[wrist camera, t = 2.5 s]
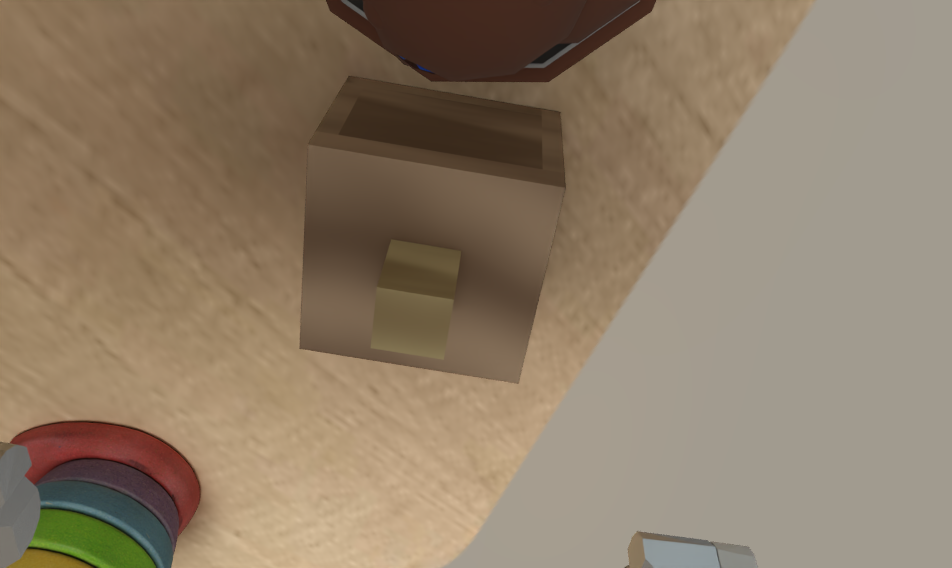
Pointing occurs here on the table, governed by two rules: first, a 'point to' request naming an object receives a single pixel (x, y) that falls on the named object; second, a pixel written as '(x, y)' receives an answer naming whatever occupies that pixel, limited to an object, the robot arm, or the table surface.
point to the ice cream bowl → (490, 34)
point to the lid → (424, 256)
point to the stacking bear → (106, 497)
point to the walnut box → (447, 123)
